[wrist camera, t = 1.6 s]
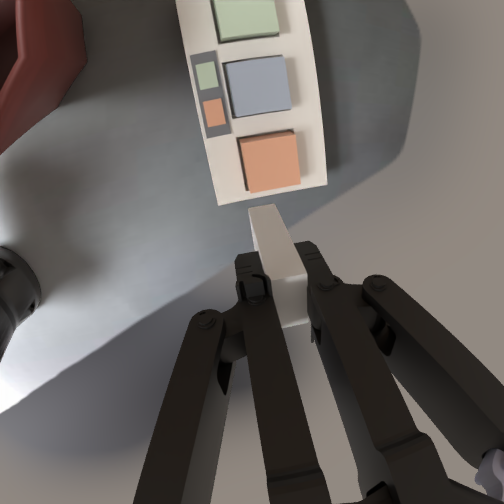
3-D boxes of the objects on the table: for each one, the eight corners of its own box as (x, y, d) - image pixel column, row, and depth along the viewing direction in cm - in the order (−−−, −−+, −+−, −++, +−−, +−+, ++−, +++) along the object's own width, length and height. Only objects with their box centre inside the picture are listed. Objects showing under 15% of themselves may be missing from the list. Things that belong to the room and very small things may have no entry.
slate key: (234, 114, 31) (236, 117, 29) (225, 65, 27) (226, 63, 25) (286, 106, 31) (292, 108, 29) (278, 58, 28) (284, 56, 26)
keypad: (217, 193, 40) (218, 207, 36) (177, 2, 25) (173, -9, 21) (316, 174, 40) (328, 185, 36) (289, -12, 25) (300, -23, 21)
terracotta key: (247, 186, 36) (250, 193, 34) (239, 139, 32) (241, 143, 30) (295, 177, 36) (300, 184, 34) (289, 131, 33) (295, 134, 30)
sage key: (221, 41, 26) (222, 38, 24) (212, -3, 23) (212, -10, 20) (274, 34, 26) (279, 31, 24) (266, -10, 23) (270, -16, 21)
